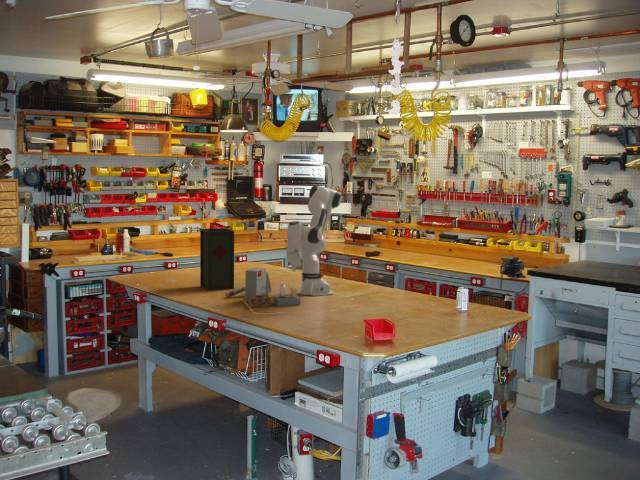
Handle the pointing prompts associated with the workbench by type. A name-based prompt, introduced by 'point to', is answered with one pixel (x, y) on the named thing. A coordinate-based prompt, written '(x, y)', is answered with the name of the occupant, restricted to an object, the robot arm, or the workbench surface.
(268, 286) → the hammer
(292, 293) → the tan block
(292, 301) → the socket block
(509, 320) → the workbench surface
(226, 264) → the first aid box
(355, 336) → the workbench surface
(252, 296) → the rack
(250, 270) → the hard drive box
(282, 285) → the frosted round peg
